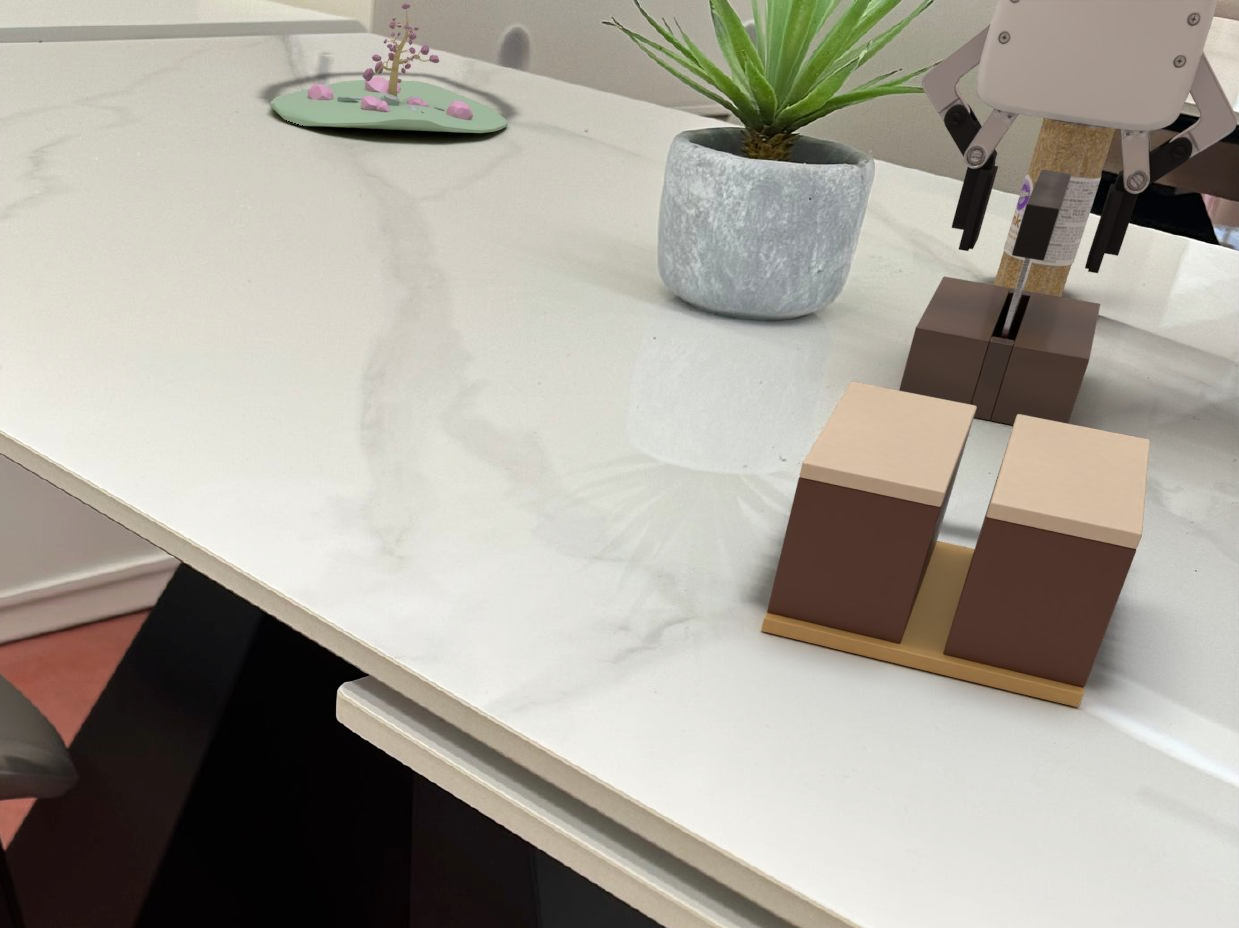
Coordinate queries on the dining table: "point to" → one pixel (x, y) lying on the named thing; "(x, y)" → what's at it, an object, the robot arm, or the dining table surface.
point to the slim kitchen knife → (1036, 230)
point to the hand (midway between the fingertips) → (1030, 253)
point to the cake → (951, 574)
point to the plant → (388, 100)
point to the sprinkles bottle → (1084, 160)
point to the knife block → (1001, 351)
